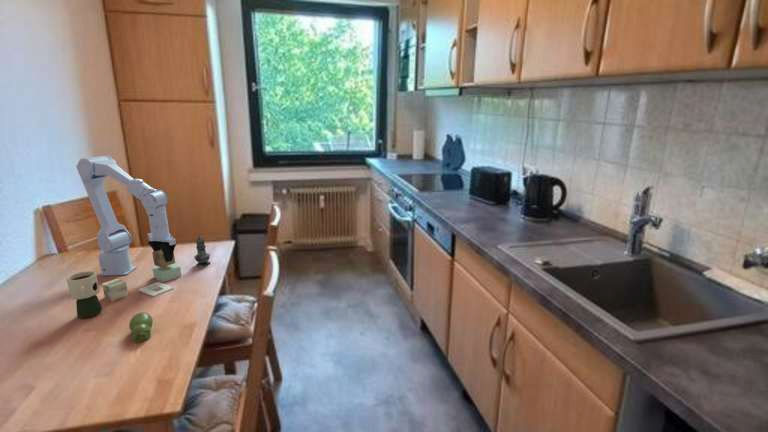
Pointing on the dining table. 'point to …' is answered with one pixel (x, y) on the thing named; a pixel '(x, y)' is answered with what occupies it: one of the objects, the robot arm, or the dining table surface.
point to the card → (155, 289)
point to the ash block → (115, 289)
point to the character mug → (85, 293)
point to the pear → (141, 327)
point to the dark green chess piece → (201, 253)
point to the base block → (166, 272)
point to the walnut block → (161, 259)
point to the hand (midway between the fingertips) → (164, 259)
